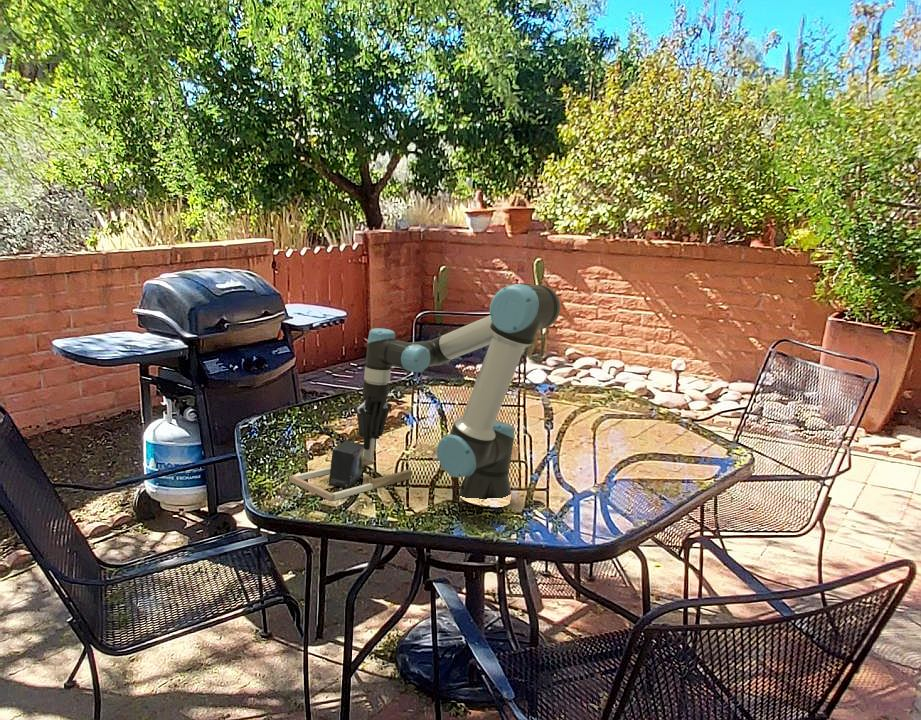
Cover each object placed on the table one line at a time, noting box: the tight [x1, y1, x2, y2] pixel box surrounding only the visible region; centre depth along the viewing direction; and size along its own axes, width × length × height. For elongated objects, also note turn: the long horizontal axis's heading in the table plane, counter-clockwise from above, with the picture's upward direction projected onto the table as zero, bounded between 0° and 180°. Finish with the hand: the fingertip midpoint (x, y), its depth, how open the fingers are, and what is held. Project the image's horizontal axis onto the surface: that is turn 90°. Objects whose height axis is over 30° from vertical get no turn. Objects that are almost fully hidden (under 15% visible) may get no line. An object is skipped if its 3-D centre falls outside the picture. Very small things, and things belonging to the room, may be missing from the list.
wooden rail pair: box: [362, 456, 413, 490], centre depth 222 cm, size 17×16×2 cm
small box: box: [328, 440, 364, 489], centre depth 213 cm, size 11×6×10 cm, turn 168°
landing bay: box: [288, 466, 374, 502], centre depth 209 cm, size 17×16×2 cm
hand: (368, 459), depth 220 cm, fingers closed
